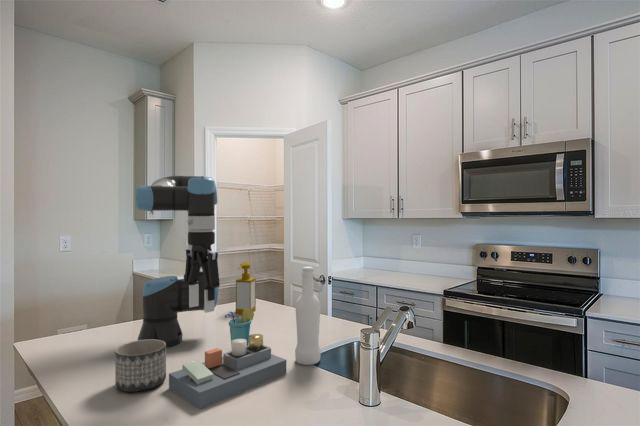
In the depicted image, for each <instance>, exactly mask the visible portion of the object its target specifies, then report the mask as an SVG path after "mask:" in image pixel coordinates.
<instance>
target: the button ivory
mask: <svg viewBox="0 0 640 426" xmlns="http://www.w3.org/2000/svg"><path fill="white" fill-rule="evenodd" d="M231 351H232V355H234V356H242V355H245V354H246V353H247V340H246V339H235V340H232V347H231Z"/></svg>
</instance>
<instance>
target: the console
mask: <svg viewBox="0 0 640 426" xmlns="http://www.w3.org/2000/svg"><path fill="white" fill-rule="evenodd" d="M201 363H202V364H203V365H204V366H205V361H204V362H201ZM205 367H206V366H205ZM207 368H208V367H207ZM208 369H209V370H210V371H211V372H212V373H213V374H214V375H213V379H211V380H209V381H206V382H203V383H200V384H197V383H196V382H195V381H194V380H193V379H192V378H191V377H190V376H189V375H188V374H187V373H186V372H185V371H184V370H183V369H179V370H176V371H174V372H173V371H172V372H170V373H168V389H169V390H171V391H172V392H174V393H175V394H177V395H178V396H179V397H181V398H182V399H184V400H185V401H187V403H190V404H191V405H193V406H194V407H195V408H197V409H199V410H201V409H204V408H206V407H209V406H211V405H214V404H215V403H219V402H220V401H223V400H225V399H227V398H231V397H232V396H236V395H238V394H240V393H242V392H245V391H247V390H249V389H252V388H254V387H256V386H259V385H261V384H264V383H266V382H269V381H272V380H275V379H277V378H279V377H281V376H284V375H286V374H287V359H285V358H282V357H281V356H278V355H275V354H273V353H272V348H271V347H270V346H267V345H266V344H263V348H262V349H261V350H250V349H249V345H248V346H247V353H246V354H245V355H242V356H234V355H232V350H230V351H227V352H224V353H223V352H222V364H221V365H218V366H215V367H212V368H208Z"/></svg>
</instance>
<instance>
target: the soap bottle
mask: <svg viewBox="0 0 640 426" xmlns="http://www.w3.org/2000/svg"><path fill="white" fill-rule="evenodd" d="M251 266H252V263H249V262H246V261H245V262H243V263H241V264H240V265H239V267H238V268H237V269H238V270H239V269H241V270H242V269H243V273H241V277H239V278H238V279H235V314H236V315H242V312H243V311H244V310H245V309H246V308H249V309H252V310H253V313H255V312H256V309H257V306H256V302H257V301H256V297H257V296H256V291H257V290H256V289H257V288H256V286H257V285H256V283H257V282H256V281H257V280H256V279H257V278H256V277H250V276H251V275H250V272H248V271H249V269H250V268H251Z"/></svg>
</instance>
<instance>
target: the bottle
mask: <svg viewBox="0 0 640 426" xmlns="http://www.w3.org/2000/svg"><path fill="white" fill-rule="evenodd" d="M314 275H315V273H314V267H313V266H303V267H302V273H301V276H302V278H301V279H302V280H301V283H302V285H301V294H300V295H299V296H298V298H297V299H296V301H295V322H296V323H295V324H296V325H295V326H296V336H297V337H296V338H297V339H296V342H297V343H296V347H295V349H294V351H295V354H294V356H295V362H296V363H297V364H300V365H303V366H312V365H313V366H314V365H315V364H316V365H317V364H318V363H319V362H320V360H321V357H322V356H321V354H322V353H321V351H322V350H321V347H320V345H319V336H320V335H319V334H320V317H321V302H320V300H319V298H318V297H317V296H316V294H315V289H314Z"/></svg>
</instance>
